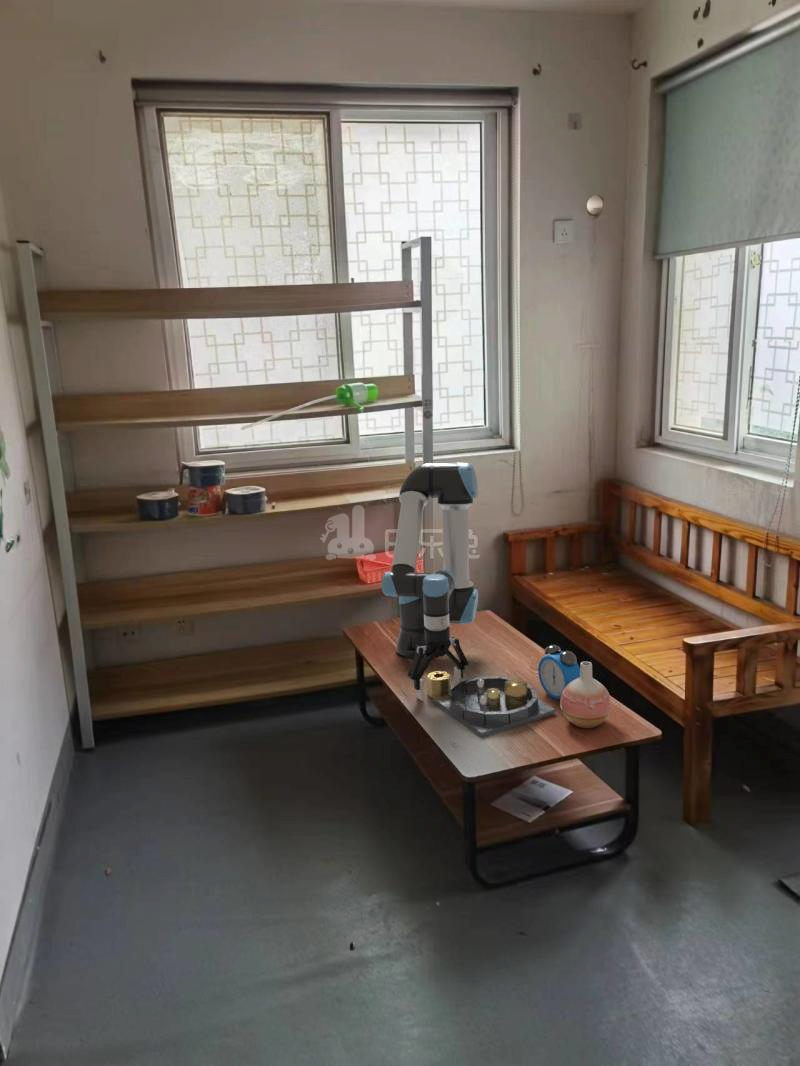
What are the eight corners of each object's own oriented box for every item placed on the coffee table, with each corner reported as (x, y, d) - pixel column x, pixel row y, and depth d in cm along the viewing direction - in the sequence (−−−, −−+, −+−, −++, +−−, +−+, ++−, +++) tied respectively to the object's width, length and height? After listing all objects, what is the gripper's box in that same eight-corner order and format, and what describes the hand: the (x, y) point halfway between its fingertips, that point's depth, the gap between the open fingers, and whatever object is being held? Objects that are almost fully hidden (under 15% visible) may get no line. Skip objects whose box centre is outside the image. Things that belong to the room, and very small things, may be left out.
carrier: (434, 703, 236) (433, 679, 234) (503, 683, 247) (503, 660, 245) (481, 737, 214) (481, 712, 212) (555, 714, 225) (555, 689, 224)
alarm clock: (537, 690, 241) (537, 644, 237) (553, 685, 244) (553, 639, 240) (566, 706, 230) (567, 658, 226) (583, 701, 232) (583, 653, 229)
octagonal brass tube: (424, 692, 243) (423, 674, 241) (442, 687, 246) (442, 669, 244) (435, 700, 237) (434, 681, 236) (454, 695, 240) (453, 676, 239)
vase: (579, 739, 211) (580, 677, 207) (550, 718, 223) (550, 659, 219) (621, 727, 216) (623, 667, 212) (590, 707, 228) (591, 650, 224)
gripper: (406, 639, 228) (409, 708, 233) (478, 622, 239) (480, 688, 244) (394, 631, 234) (397, 698, 239) (465, 615, 245) (466, 679, 250)
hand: (439, 693), depth 241 cm, fingers open, 12 cm apart
